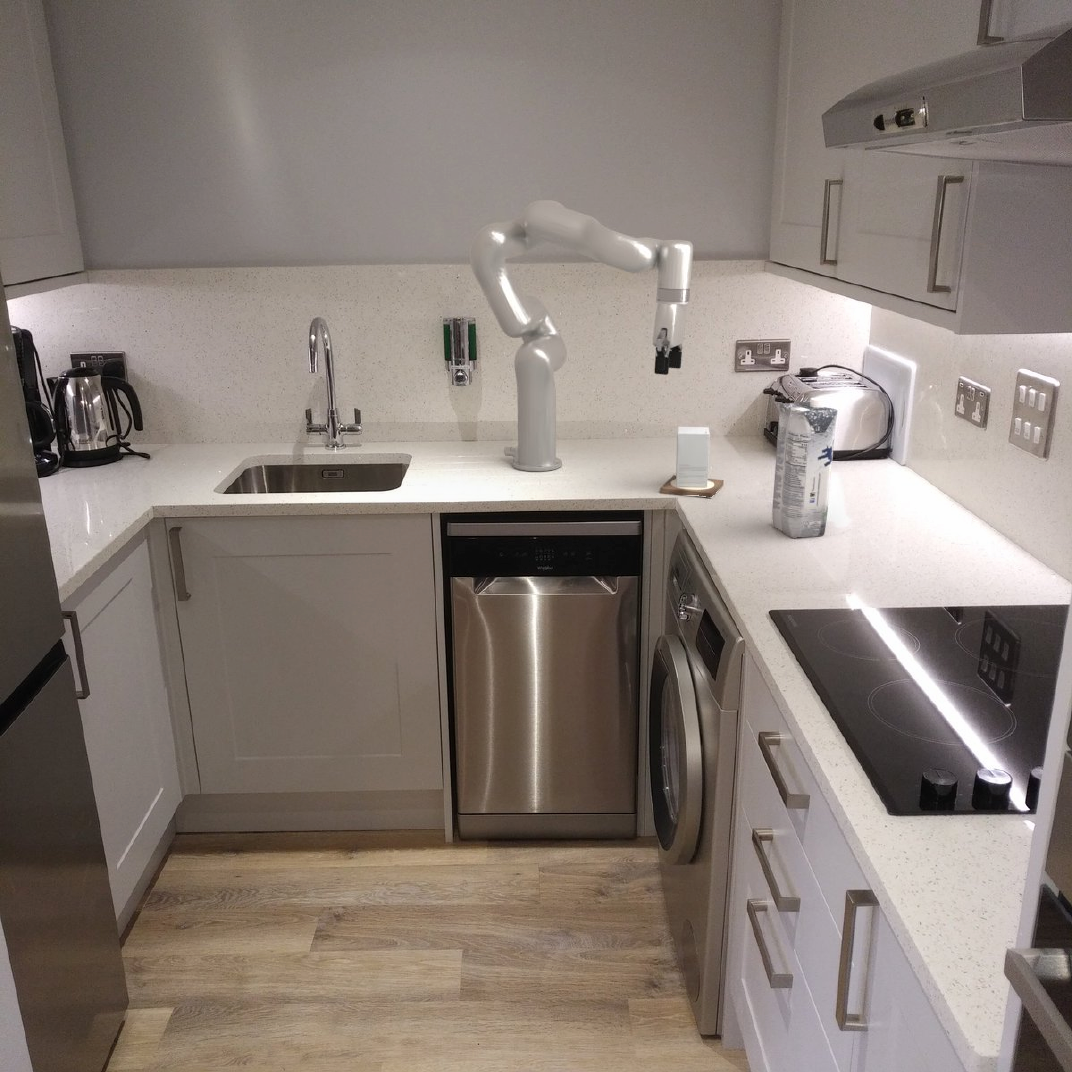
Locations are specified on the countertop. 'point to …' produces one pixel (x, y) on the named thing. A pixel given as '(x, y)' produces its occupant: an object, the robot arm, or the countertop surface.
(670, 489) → the board
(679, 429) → the supplement box
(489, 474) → the countertop surface
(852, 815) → the countertop surface
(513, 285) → the robot arm
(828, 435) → the juice carton
